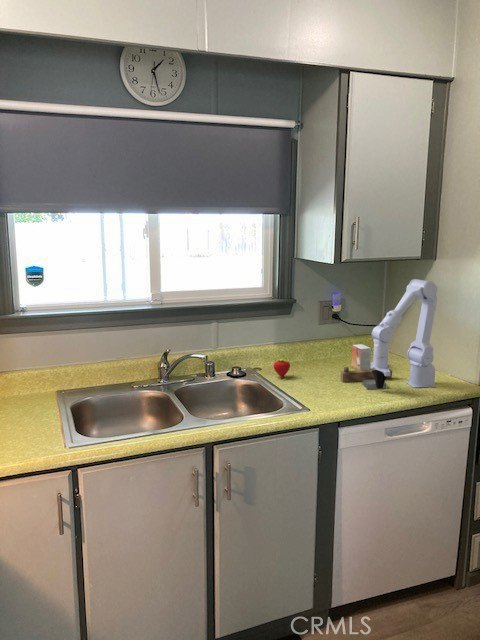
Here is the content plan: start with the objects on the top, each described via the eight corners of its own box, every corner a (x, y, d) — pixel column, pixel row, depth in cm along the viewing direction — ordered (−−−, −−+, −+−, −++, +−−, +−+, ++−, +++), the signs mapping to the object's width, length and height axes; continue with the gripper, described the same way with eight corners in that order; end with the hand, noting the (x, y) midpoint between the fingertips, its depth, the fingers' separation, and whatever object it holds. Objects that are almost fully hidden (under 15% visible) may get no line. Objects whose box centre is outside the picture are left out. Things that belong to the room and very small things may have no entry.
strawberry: (271, 376, 237) (271, 354, 235) (287, 374, 239) (287, 353, 237) (275, 380, 231) (275, 357, 229) (292, 378, 233) (292, 356, 231)
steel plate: (380, 384, 225) (380, 379, 224) (386, 389, 219) (386, 383, 218) (362, 385, 224) (362, 380, 223) (367, 390, 218) (367, 384, 217)
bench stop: (388, 377, 233) (389, 364, 232) (391, 379, 230) (392, 366, 229) (340, 380, 230) (340, 366, 229) (342, 382, 227) (343, 368, 226)
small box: (351, 366, 250) (351, 344, 248) (361, 365, 252) (362, 343, 249) (359, 371, 242) (360, 348, 240) (370, 370, 244) (371, 347, 242)
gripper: (364, 351, 219) (363, 383, 222) (378, 361, 205) (377, 394, 208) (380, 350, 220) (379, 382, 223) (395, 360, 206) (394, 393, 209)
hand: (379, 388), depth 216 cm, fingers closed
